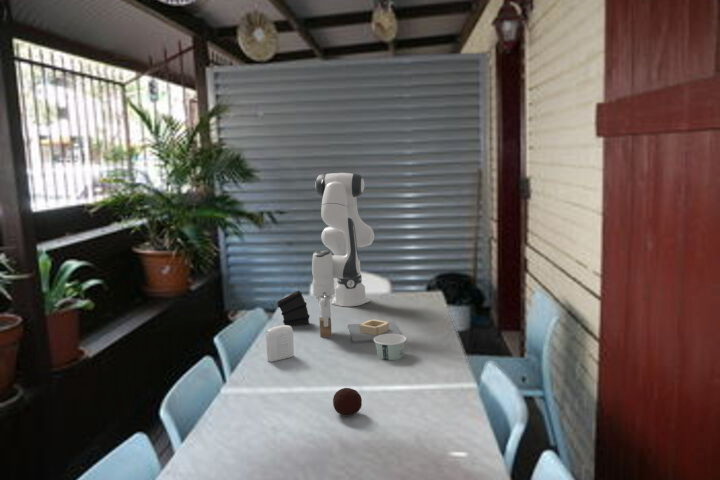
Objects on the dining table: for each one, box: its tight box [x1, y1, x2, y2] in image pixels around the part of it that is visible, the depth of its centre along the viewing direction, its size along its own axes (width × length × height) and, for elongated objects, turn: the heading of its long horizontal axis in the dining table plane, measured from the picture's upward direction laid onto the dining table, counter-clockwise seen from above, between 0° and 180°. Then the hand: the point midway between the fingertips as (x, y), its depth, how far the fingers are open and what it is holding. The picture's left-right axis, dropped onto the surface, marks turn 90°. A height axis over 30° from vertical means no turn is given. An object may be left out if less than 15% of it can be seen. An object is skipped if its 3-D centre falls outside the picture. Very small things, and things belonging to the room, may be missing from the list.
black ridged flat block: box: [276, 290, 310, 327], centre depth 258 cm, size 4×13×15 cm, turn 93°
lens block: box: [319, 316, 333, 338], centre depth 242 cm, size 4×4×7 cm
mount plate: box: [347, 318, 403, 344], centre depth 242 cm, size 22×20×4 cm
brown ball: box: [332, 387, 363, 417], centre depth 168 cm, size 8×9×8 cm
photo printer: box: [265, 324, 295, 362], centre depth 216 cm, size 10×4×12 cm, turn 123°
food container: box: [373, 334, 407, 361], centre depth 214 cm, size 12×12×6 cm
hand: (325, 322), depth 241 cm, fingers open, 8 cm apart
